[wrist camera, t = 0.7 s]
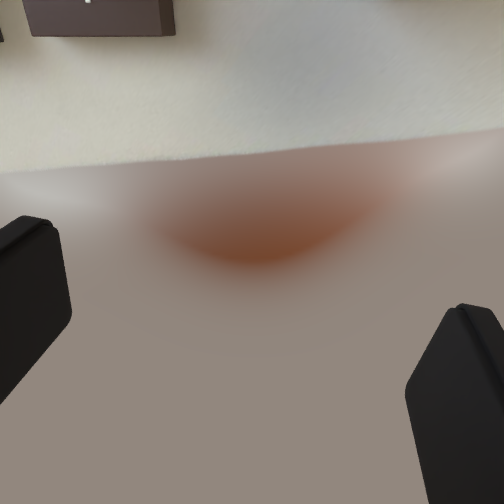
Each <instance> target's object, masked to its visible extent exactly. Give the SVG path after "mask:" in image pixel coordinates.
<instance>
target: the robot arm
mask: <svg viewBox="0 0 504 504" xmlns="http://www.w3.org/2000/svg"><path fill="white" fill-rule="evenodd" d="M71 316H72V308H71V302H70V296H69V290H68V285H67V278H66V272H65V266H64V260H63V255H62V249H61V243H60V237H59V232H58V230H57V229H56V228H55V227H53V225H52V223H51V222H50V221H49V220H46V219H41V218H36V217H31V216H20V217H18V218H17V219H15V220H14V221H12V222H10V223H9V224H7V225H6V226H4V227H3V228H1V229H0V404H1V403H2V402H3V401H4V400H5V399H6V397H7V396H8V395H9V394H10V393H11V391H12V390H13V389H14V388H15V387H16V385H17V384H18V383H19V382H20V381H21V379H22V378H23V377H24V376H25V375H26V374H27V372H28V371H29V370H30V369H31V367H32V366H33V365H34V364H35V363H36V362H37V361H38V359H39V358H40V357H41V356H42V354H43V353H44V352H45V351H46V350H47V349H48V347H49V346H50V345H51V344H52V342H54V340H55V339H56V338H57V337H58V335H59V334H60V333H61V332H62V331H63V330H64V328H65V327H66V326H67V325H68V323H69V321H70V319H71ZM405 399H406V404H407V408H408V413H409V417H410V421H411V426H412V431H413V435H414V439H415V444H416V448H417V453H418V457H419V462H420V466H421V470H422V474H423V479H424V483H425V488H426V493H427V497H428V502H429V504H504V330H503V329H502V327H501V325H500V323H499V322H498V320H497V318H496V317H495V315H494V314H493V312H492V311H491V310H490V309H488V308H483V307H479V306H474V305H469V304H463V303H462V304H459V305H458V306H457V307H456V308H450V309H448V311H447V312H446V314H445V315H444V317H443V319H442V321H441V323H440V325H439V327H438V328H437V330H436V332H435V334H434V335H433V337H432V339H431V341H430V343H429V344H428V346H427V348H426V350H425V352H424V353H423V355H422V357H421V359H420V361H419V363H418V364H417V366H416V368H415V370H414V372H413V373H412V375H411V377H410V379H409V381H408V382H407V385H406V389H405Z"/></svg>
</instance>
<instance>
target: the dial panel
mask: <svg viewBox="0 0 504 504" xmlns="http://www.w3.org/2000/svg"><path fill="white" fill-rule="evenodd" d="M22 2H23V5H24V9H25V13H26V16H27V20H28V24H29V27H30V31H31V35H32V36H33V37H162V36H174V35H175V25H174V15H173V5H172V0H22Z"/></svg>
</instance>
